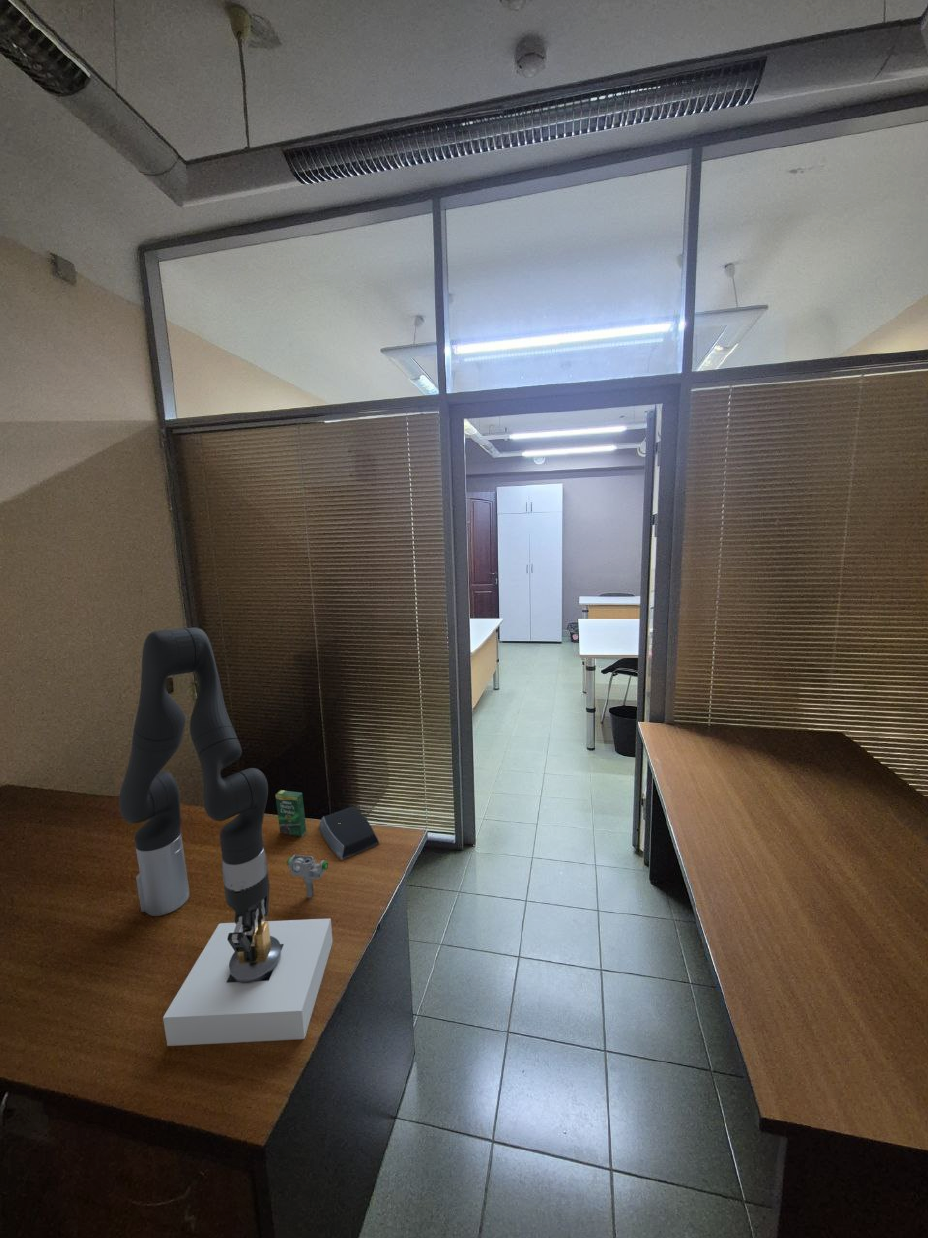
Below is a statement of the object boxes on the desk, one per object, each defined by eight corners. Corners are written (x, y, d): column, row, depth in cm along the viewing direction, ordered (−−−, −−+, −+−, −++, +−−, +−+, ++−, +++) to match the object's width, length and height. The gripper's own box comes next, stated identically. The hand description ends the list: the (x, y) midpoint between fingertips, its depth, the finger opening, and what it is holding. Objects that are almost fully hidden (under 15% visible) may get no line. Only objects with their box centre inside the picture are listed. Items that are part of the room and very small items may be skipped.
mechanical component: (326, 903, 113) (323, 866, 111) (288, 897, 115) (284, 861, 113) (332, 894, 116) (329, 858, 114) (295, 888, 118) (291, 853, 116)
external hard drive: (338, 863, 127) (337, 849, 127) (316, 828, 143) (315, 816, 142) (382, 844, 135) (381, 832, 134) (356, 813, 150) (355, 802, 150)
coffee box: (278, 833, 140) (274, 793, 138) (284, 827, 143) (280, 788, 141) (301, 837, 138) (297, 797, 136) (306, 832, 141) (303, 792, 138)
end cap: (223, 1007, 87) (216, 950, 85) (245, 963, 96) (238, 911, 94) (273, 1004, 87) (267, 948, 85) (289, 960, 96) (284, 909, 94)
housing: (167, 1046, 81) (162, 1017, 80) (222, 947, 101) (219, 923, 100) (304, 1039, 82) (301, 1010, 81) (332, 942, 102) (330, 918, 101)
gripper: (242, 849, 94) (250, 923, 97) (206, 903, 80) (217, 987, 83) (279, 848, 94) (286, 922, 97) (250, 901, 80) (259, 985, 83)
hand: (254, 952), depth 90 cm, fingers closed on end cap, 3 cm apart
